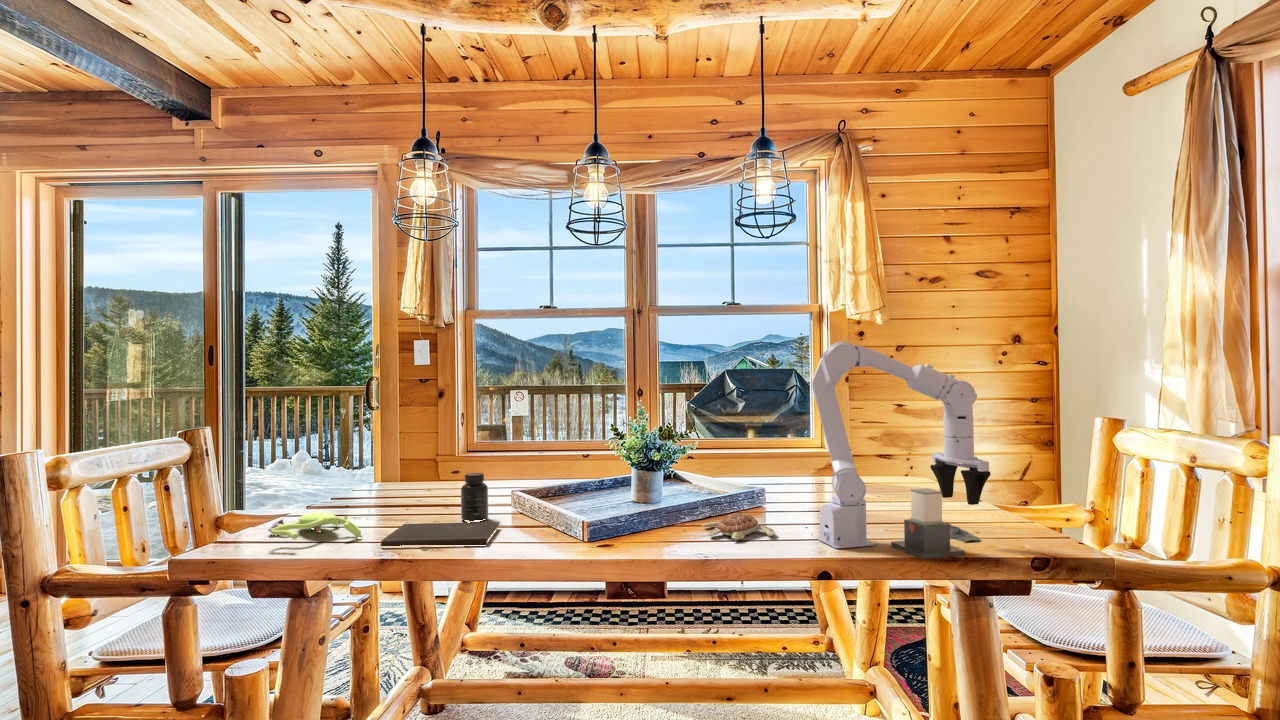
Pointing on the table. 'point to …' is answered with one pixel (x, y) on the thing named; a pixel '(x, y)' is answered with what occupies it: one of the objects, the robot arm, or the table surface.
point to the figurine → (313, 524)
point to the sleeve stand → (927, 541)
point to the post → (926, 506)
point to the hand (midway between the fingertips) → (960, 500)
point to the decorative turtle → (737, 526)
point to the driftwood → (961, 534)
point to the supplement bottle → (474, 498)
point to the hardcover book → (441, 534)
